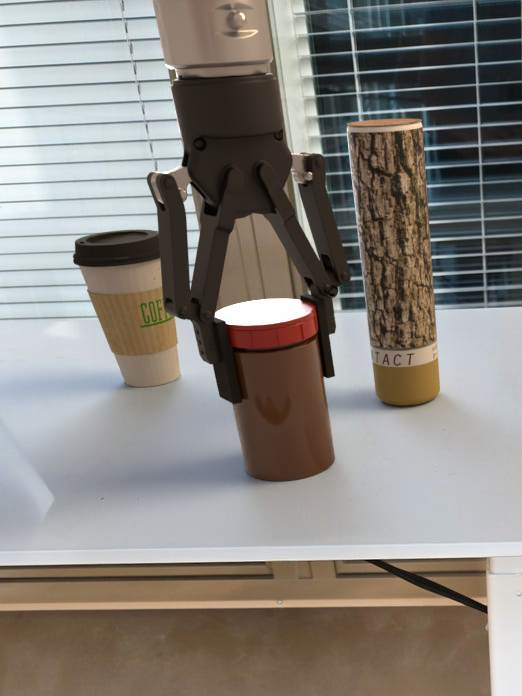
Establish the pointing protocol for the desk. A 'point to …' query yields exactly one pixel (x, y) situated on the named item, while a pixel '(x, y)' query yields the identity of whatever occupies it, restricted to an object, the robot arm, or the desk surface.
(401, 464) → the desk surface
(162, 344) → the coffee cup
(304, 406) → the jar
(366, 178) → the paper tube
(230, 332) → the lid
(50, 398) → the desk surface
